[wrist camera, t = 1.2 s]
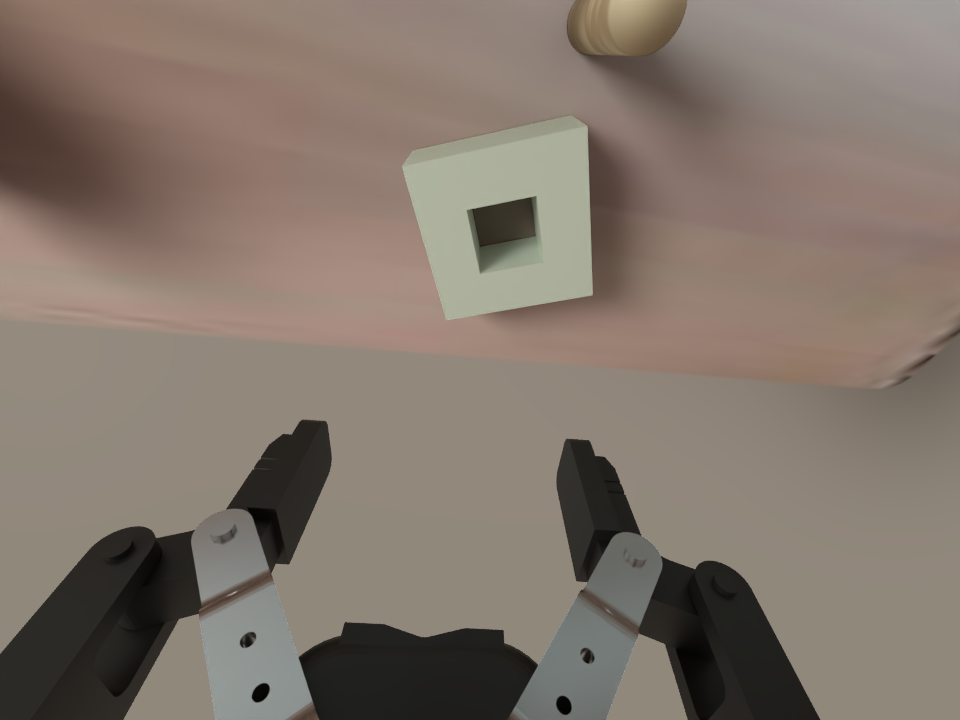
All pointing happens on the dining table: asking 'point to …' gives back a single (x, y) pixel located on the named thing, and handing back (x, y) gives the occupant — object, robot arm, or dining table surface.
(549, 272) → the hole block
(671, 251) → the dining table surface
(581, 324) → the dining table surface
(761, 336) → the dining table surface
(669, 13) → the peg
